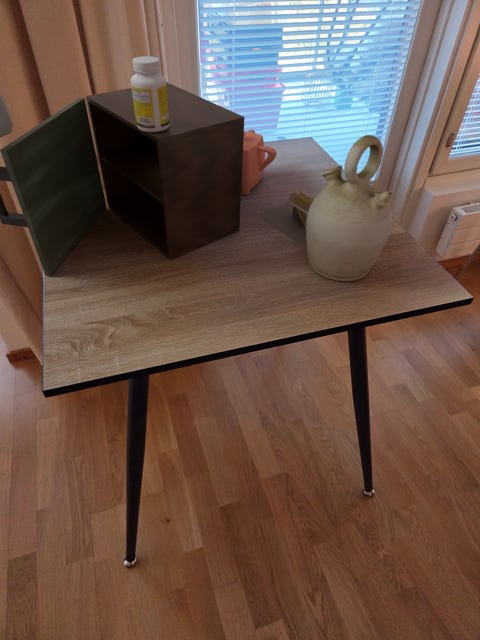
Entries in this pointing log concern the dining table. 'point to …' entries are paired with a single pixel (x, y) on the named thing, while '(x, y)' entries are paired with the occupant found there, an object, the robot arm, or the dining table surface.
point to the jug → (349, 217)
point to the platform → (290, 217)
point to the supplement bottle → (149, 95)
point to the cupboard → (171, 169)
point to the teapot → (254, 160)
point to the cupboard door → (55, 183)
